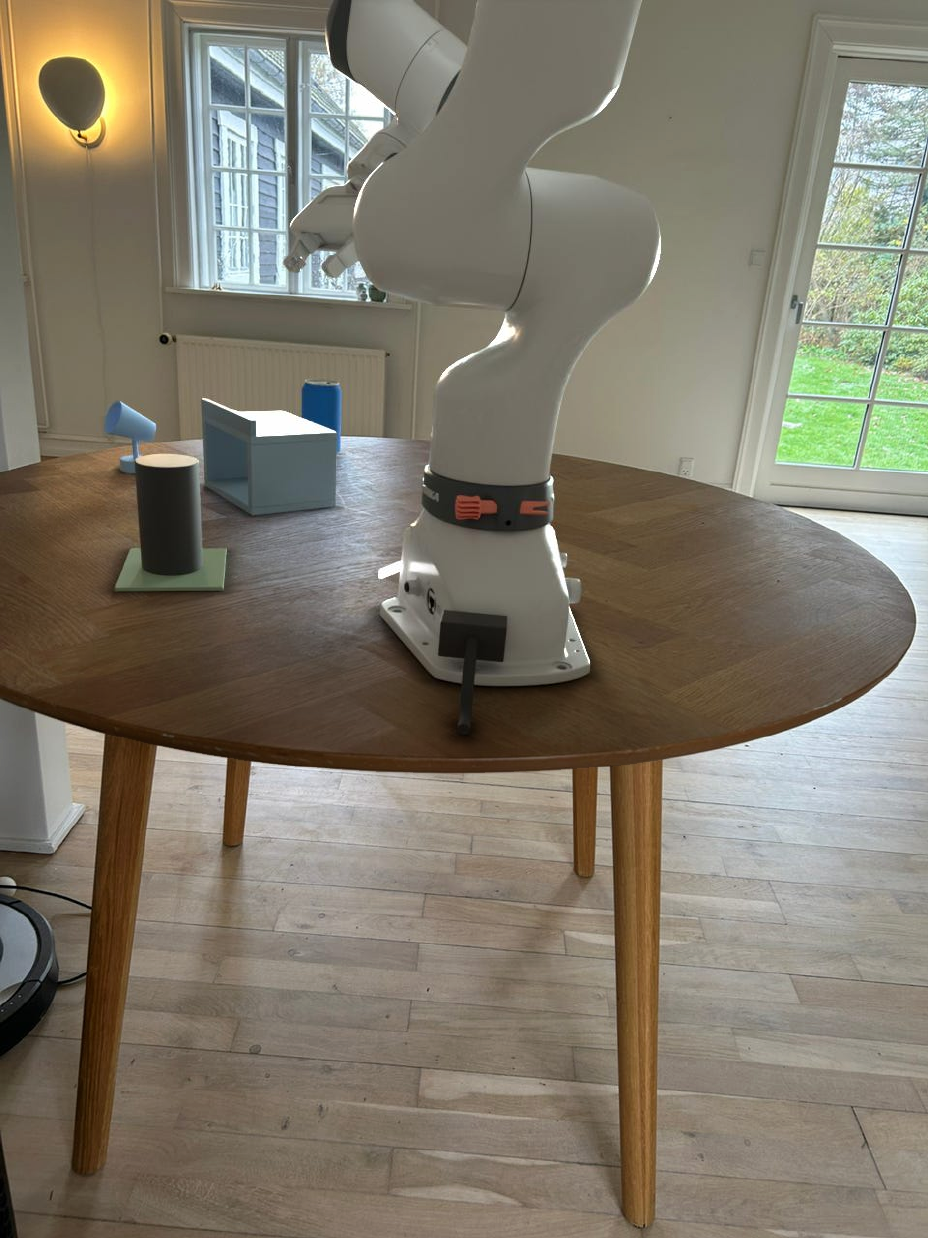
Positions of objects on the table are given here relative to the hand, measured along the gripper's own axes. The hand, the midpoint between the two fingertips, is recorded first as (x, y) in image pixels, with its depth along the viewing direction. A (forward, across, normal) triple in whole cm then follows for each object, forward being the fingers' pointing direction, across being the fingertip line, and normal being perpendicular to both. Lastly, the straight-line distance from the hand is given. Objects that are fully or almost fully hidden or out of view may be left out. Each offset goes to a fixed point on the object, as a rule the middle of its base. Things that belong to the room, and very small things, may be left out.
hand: (307, 270), depth 97 cm
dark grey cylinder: (+35, +11, +6) cm, 37 cm away
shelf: (+20, -12, +21) cm, 32 cm away
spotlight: (+29, -32, +13) cm, 45 cm away
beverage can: (+7, -33, +35) cm, 49 cm away
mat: (+35, +11, +6) cm, 38 cm away
